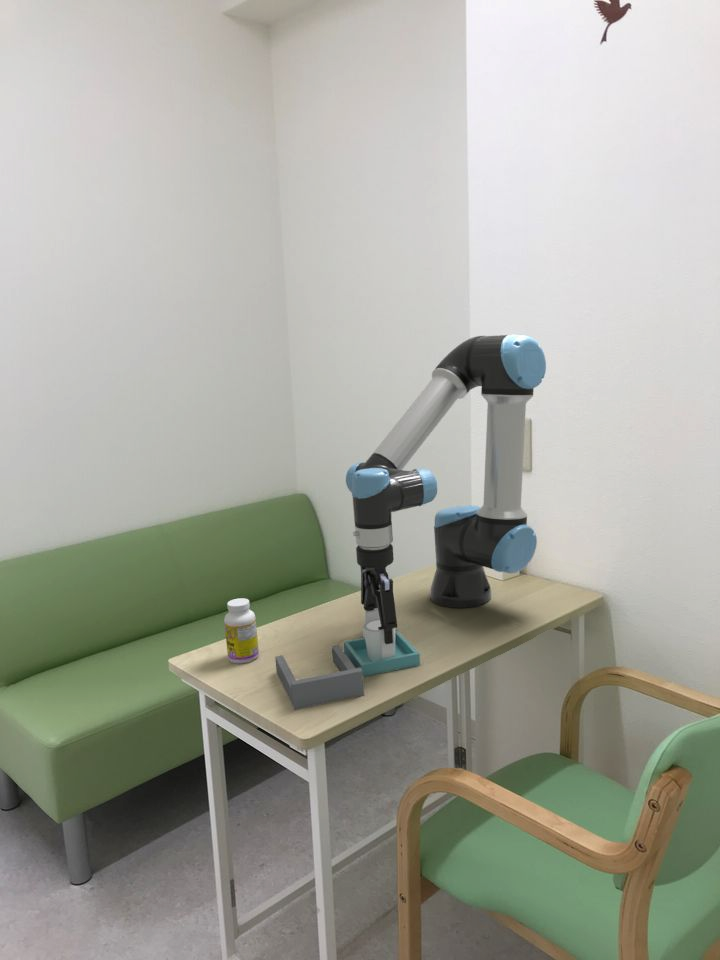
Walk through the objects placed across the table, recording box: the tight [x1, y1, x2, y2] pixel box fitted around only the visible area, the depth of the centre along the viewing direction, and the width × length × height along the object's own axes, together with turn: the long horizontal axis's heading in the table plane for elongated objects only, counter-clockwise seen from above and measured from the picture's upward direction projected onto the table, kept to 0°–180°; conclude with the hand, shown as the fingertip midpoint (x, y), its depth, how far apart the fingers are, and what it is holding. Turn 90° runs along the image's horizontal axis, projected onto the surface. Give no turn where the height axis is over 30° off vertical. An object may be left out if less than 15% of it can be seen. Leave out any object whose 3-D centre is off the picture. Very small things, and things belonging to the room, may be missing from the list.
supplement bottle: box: [223, 597, 260, 665], centre depth 164 cm, size 7×7×13 cm
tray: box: [342, 630, 421, 677], centre depth 161 cm, size 13×13×2 cm
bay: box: [274, 644, 365, 710], centre depth 151 cm, size 17×14×5 cm
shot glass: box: [362, 619, 396, 661], centre depth 161 cm, size 7×7×7 cm
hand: (380, 647), depth 161 cm, fingers open, 9 cm apart
